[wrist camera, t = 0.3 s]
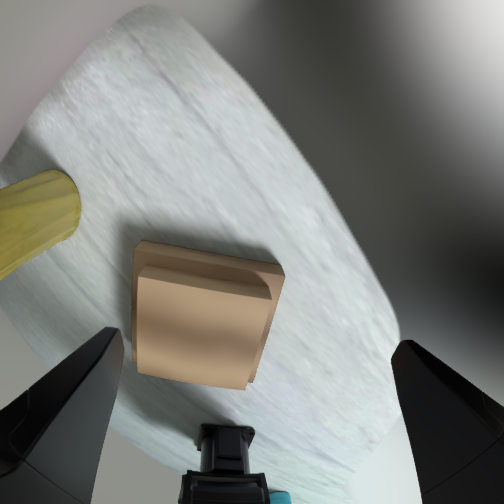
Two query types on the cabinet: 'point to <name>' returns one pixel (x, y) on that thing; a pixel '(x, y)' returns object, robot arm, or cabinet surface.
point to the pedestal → (201, 314)
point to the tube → (280, 498)
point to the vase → (36, 217)
